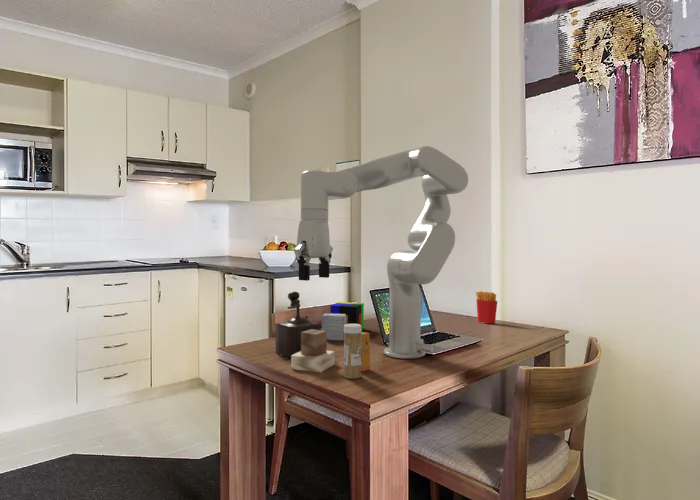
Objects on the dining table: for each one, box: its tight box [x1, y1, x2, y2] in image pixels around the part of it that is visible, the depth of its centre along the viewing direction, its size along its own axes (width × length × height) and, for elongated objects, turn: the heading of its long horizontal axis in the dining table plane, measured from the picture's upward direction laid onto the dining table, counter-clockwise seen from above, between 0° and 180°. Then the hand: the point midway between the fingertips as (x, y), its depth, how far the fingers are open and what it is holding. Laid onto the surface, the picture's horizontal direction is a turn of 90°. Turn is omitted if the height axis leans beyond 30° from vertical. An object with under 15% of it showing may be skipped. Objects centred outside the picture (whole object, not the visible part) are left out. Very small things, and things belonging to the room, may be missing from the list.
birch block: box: [290, 350, 336, 373], centre depth 135 cm, size 9×9×4 cm
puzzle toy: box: [330, 301, 365, 330], centre depth 185 cm, size 10×10×10 cm
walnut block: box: [301, 329, 328, 357], centre depth 135 cm, size 5×5×6 cm
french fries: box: [475, 290, 498, 324], centre depth 203 cm, size 9×4×13 cm, turn 41°
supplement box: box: [360, 331, 371, 373], centre depth 132 cm, size 3×3×10 cm
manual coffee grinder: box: [274, 291, 322, 359], centre depth 151 cm, size 16×11×18 cm
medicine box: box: [321, 313, 346, 342], centre depth 169 cm, size 8×4×9 cm, turn 84°
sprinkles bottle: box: [343, 324, 363, 380], centre depth 125 cm, size 5×5×13 cm
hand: (314, 278), depth 134 cm, fingers open, 9 cm apart
